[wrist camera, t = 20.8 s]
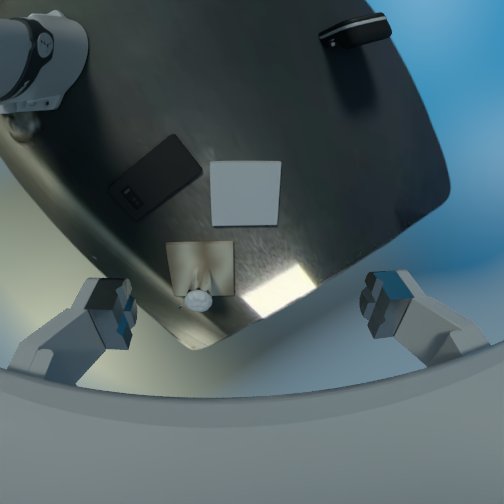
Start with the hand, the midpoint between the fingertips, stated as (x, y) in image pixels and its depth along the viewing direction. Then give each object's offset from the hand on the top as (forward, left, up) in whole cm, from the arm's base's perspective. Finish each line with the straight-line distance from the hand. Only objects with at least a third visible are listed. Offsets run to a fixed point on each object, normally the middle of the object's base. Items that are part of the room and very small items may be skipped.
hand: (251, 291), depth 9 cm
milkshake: (-6, -26, -36) cm, 45 cm away
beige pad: (-6, -26, -37) cm, 46 cm away
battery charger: (+16, +16, -37) cm, 44 cm away
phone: (-13, -8, -38) cm, 41 cm away
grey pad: (+2, -11, -37) cm, 39 cm away
